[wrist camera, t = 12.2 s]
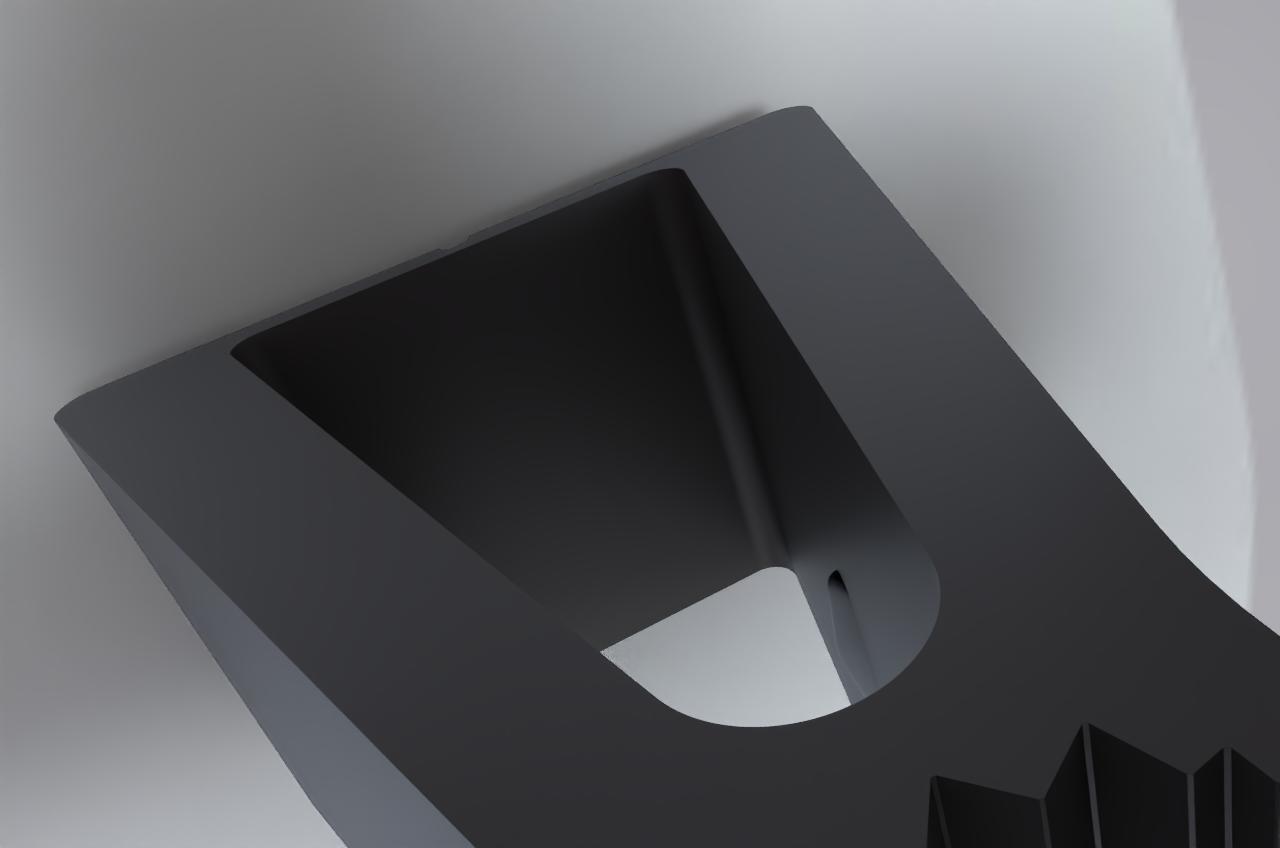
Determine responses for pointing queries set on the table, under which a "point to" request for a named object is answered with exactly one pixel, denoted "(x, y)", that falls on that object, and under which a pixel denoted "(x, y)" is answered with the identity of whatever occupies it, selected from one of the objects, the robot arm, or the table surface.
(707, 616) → the table surface
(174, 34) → the table surface
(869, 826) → the phone stand
